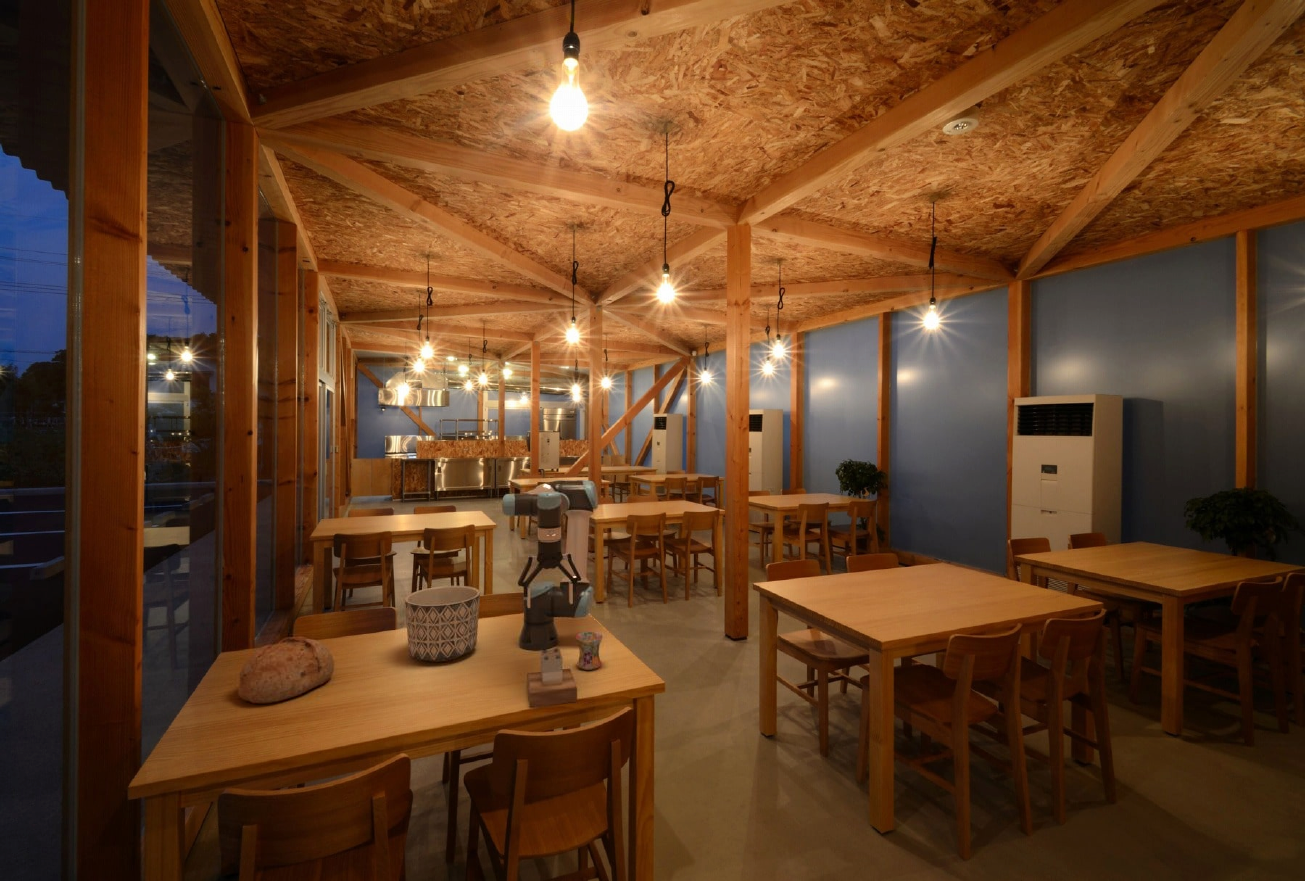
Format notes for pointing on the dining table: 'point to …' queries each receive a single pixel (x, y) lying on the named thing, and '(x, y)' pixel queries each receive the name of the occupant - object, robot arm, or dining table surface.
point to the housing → (551, 667)
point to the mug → (589, 650)
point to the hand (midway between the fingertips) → (550, 604)
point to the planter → (442, 622)
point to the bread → (285, 670)
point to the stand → (551, 690)
